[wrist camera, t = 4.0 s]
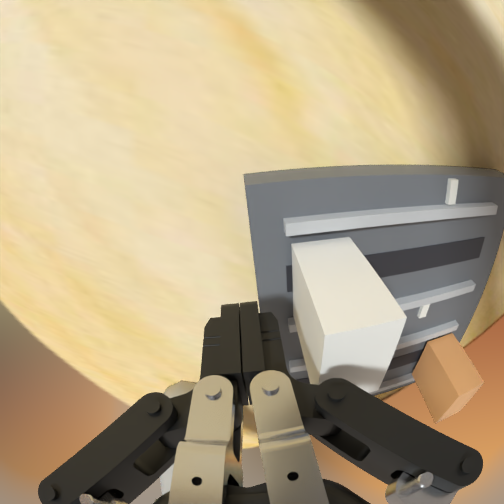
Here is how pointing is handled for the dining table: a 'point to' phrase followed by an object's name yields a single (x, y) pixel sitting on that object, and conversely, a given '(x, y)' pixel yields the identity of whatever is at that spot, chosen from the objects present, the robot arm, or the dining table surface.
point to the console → (382, 243)
